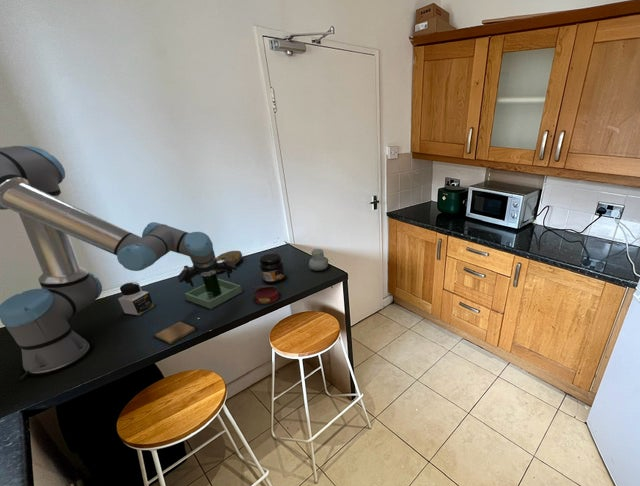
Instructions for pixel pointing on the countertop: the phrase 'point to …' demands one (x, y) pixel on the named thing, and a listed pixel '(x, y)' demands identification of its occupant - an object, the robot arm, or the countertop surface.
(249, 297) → the countertop surface
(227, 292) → the bin
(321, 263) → the air freshener
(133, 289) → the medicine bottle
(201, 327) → the countertop surface
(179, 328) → the coaster
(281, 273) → the supplement container
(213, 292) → the beer can
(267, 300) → the canned food
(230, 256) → the brown oval lump
